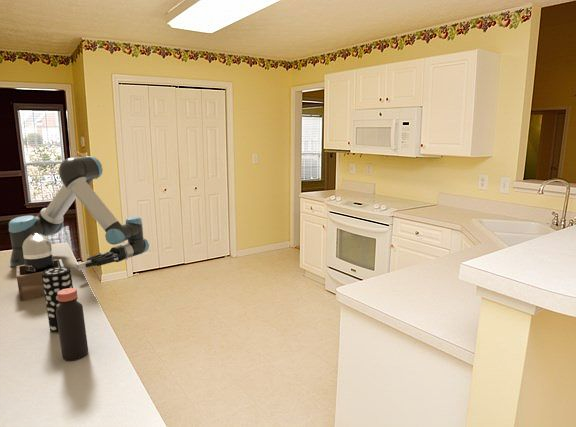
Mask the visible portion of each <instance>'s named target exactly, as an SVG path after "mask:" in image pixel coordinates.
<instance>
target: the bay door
mask: <svg viewBox="0 0 576 427" xmlns="http://www.w3.org/2000/svg"><path fill="white" fill-rule="evenodd" d="M58 267H65V266H64V263H63V261H62V259H61V258H60V259H58Z"/></svg>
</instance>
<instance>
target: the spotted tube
mask: <svg viewBox="0 0 576 427" xmlns="http://www.w3.org/2000/svg"><path fill="white" fill-rule="evenodd" d="M42 280H43V287H44V293H45V296H44V298H45V305H46V312H47V319H48V325H49V327H48V328H49V331H50V332H51V333H53V334H59V330H58V324H57V317H56V309H57V307H58V306H59V305H60V303H59V302H58V296H57V292H59V291H60V290H63V289H67V288H74V283H73V276H72V268H71V267H70V266H64V267H60V266H58V267H55V268H50V269H47V270H45V271H43V272H42Z"/></svg>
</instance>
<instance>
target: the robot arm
mask: <svg viewBox="0 0 576 427" xmlns="http://www.w3.org/2000/svg"><path fill="white" fill-rule="evenodd" d="M58 167H59V168H58V175H59V179H60V180H61V182H62V186H61V187H60V188H59V190H58V191H57V193H56V194H55V195H54V197H53V198H52V199H51V201H50V203H49V204H48V205H47V207H43V208H42V209H41V210H40V211H39V213H38V214H37V215H36V216H34V215H22V216H17V217H15V218H12V219H11V220H10V221H9V222H8V232H9V237H10V242H11V249H12V251H11V254H10V259H9V263H10V266H11V267H12V268H16V266H20V265H25V260H24V256H23V255H24V254H23V248H22V246H23V243H24V241H25V240H26V239H27V238H28V237H29V236H30V235H31V234H32V233H34V232H38V233H40V234H42V235H44V236H45V237H49V236H54V235H56V234H58V233H59V232H61V231H62V230H63V228H64V225H65V224H64V221H65V220H64V219H65V218H64V216H65V214H66V213H67V211H68V210H69V208H70V207H71V206H72V205H73V203H74V202H75V200H76V199H78V200H79V201H80V202H81V203H82V205H83V206H84V207H85V208H86V210H87V211H88V212H89V214H90V215H91V216H92V217H93V218H94V219H95V221H96V222H97V223H98V225H100V227H101V228H102V229H103V230H104V232H105V235H104V237H105V240H106V242H107V243H108V244H109V245H112V247H111V248H110V250H109V251H106V252H104V253H101V252H99V253H96V254H95V255H93V256H90V257H88V258H86V261H85V260H84V261H83V262H78V263H76V264H75V265H76V271H79V272H80V271H82V270H85V269H88V268H91V267H95V266H96V267H99V266H100V267H101V266H103V265H109V264H111V263H119V262H122V261H124V260H128V259H130V258H133V257H136V256H138V255H142V254H144V253H146V252H147V251H148V250H149V249H150V243H149V242H148V240H147V239H146V238H144V231H143V220H142V218H141V217H139V216H130V217H129V216H128V217H127V218H126V219H125V223H124V224H122V223H121V222H120V221H119V220H118V219H117V218H116V217H115V215H114V213H112V212H111V210H110V209H109V208H108V206H107V205H106V204H105V203H104V202H103V200H102V199H101V198H100V196H99V195H98V194H97V193H96V192H95V191H94V189H93V188H92V187H91V184H92V182H93V180H96V179H99V178H100V177H101V176H102V174H103V165H102V163H101V161H100V160H99V159H98V158H97V157H95V156H89V155H87V156H86V155H85V156H75V157H68V158H66V159H64V160H62V162H61V163H60V165H59V166H58ZM125 241H127V242H125ZM124 242H125V243H124ZM121 243H122V244H121ZM118 244H119V245H118ZM113 245H114V246H113ZM115 245H116V246H115Z"/></svg>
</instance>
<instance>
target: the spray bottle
mask: <svg viewBox="0 0 576 427" xmlns="http://www.w3.org/2000/svg"><path fill="white" fill-rule="evenodd" d="M51 242H52V241H51V240H50V239H49V238H48V236H46V237H45V236H44V235H42V234H40V233H38V232H34V233H32V234H31V235H30V236H29V237H28V238H27V239H26V240H25V241H24V243H23V246H22V248H23V254H24V255H23V256H24V260H25V267H26V273H27V274H32V273H38V272H43V271H45V270H47V269H50V268H54V263H53V260H54V258H53V257H54V256H53V254H54V253H53V249H52V243H51Z"/></svg>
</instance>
